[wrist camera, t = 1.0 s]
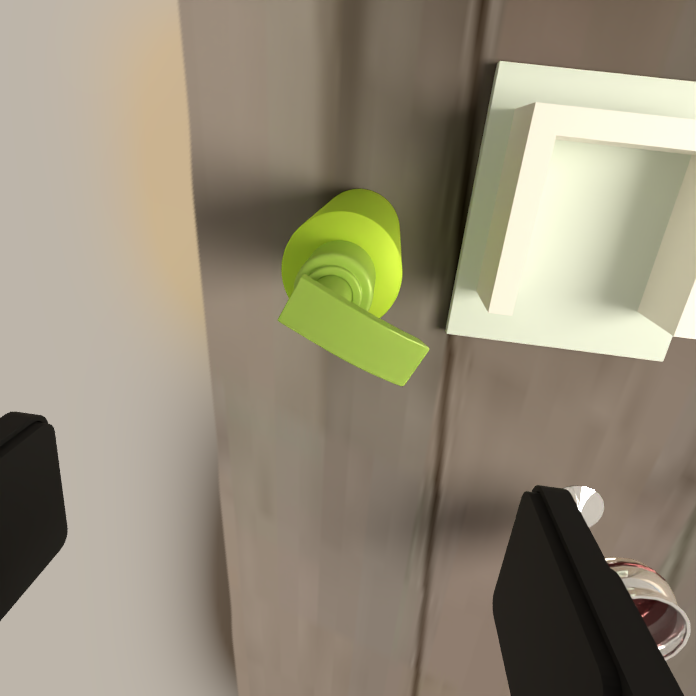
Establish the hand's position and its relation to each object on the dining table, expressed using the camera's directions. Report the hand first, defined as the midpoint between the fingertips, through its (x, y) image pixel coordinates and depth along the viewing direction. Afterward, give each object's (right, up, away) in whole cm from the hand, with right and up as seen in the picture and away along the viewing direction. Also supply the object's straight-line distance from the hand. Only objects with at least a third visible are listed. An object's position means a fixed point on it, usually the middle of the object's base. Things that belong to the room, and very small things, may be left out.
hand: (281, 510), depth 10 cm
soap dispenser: (+3, +12, +26) cm, 29 cm away
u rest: (+18, +12, +25) cm, 33 cm away
